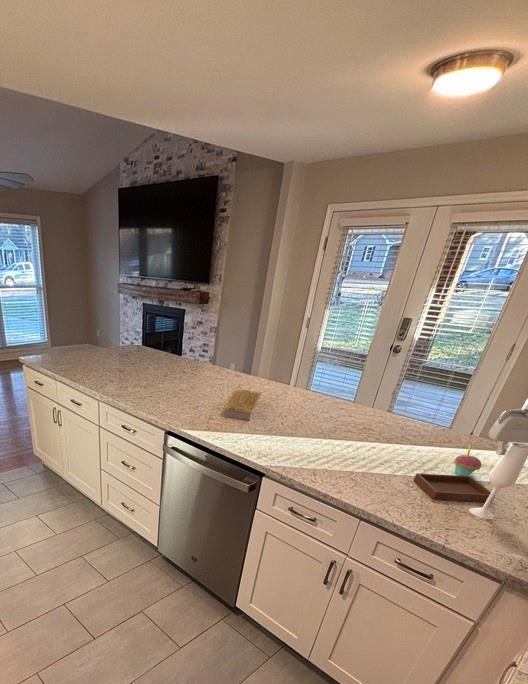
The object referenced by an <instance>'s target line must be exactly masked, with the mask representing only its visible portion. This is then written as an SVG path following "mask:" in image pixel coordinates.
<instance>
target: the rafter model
mask: <svg viewBox="0 0 528 684" xmlns="http://www.w3.org/2000/svg"><path fill="white" fill-rule="evenodd" d="M261 395H262V392H258V391H253V390H248V389H234V390H233V391H232V393H231V394H230V396H229V398H228V400H227V401H226V403H225V404H224V406H223V408H222V411H223V417H228V418H234V419H240V420H246V421H251V418H252V415H253V414H254V412H255V410H256V407H257V404H258V402H259V399H260V397H261Z"/></svg>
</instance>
